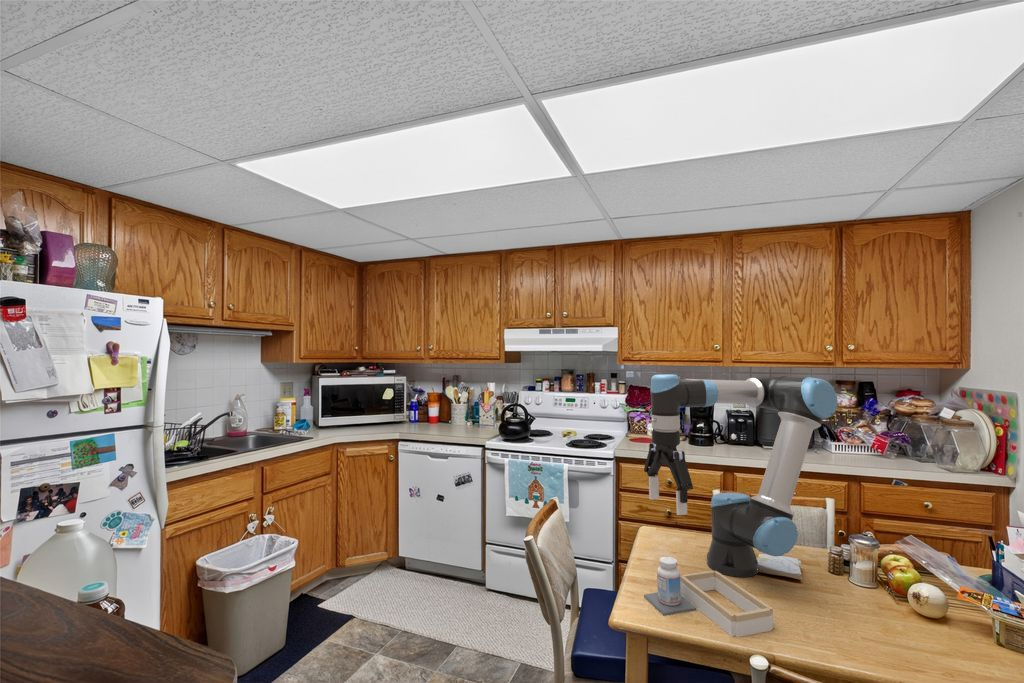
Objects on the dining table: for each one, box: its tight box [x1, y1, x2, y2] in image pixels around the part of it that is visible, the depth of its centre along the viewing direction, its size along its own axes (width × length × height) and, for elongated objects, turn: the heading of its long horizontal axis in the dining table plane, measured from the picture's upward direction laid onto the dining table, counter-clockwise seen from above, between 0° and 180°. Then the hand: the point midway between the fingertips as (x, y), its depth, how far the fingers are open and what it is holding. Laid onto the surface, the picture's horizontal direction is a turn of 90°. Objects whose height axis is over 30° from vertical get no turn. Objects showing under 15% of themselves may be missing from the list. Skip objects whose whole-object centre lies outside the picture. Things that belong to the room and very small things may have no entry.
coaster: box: [643, 591, 697, 616], centre depth 131 cm, size 10×10×1 cm
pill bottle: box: [656, 556, 681, 606], centre depth 131 cm, size 6×6×11 cm
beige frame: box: [680, 570, 774, 638], centre depth 127 cm, size 12×22×5 cm, turn 14°
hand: (667, 506), depth 131 cm, fingers open, 13 cm apart
